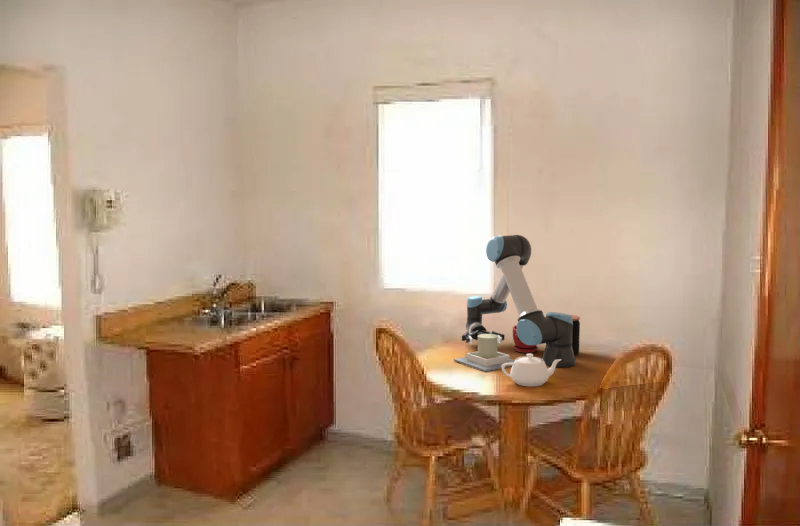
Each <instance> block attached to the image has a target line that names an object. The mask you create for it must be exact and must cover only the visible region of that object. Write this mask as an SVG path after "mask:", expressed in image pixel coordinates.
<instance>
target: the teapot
mask: <svg viewBox="0 0 800 526" xmlns="http://www.w3.org/2000/svg"><path fill="white" fill-rule="evenodd" d="M525 355H526V356H519V357H516V358H515V359H514V360H515V361H514V362H513V363H504V364H502V366H501V368H502V369H501V371H502V373H504V374H505V376H507V377H509V378H510V379H511V380H513V382H515V384H517V385H519V386H522V387H540V386H543V385H544V384H545V383H546V382H548V380H549V377H552V375H553V374H554V373H555V371H556V368H557V367H556V365H557V363H558V362H559V361H561V360H562V359H557V360H555V361H554V362H553V364H552V366H549V368H548V367H547V366H548V365H546V364H545V362H544V360H543V359H542V357H541V358H540V357H536V356H534V354H533V353H525ZM506 365H513V366H512V367H510V368H511V369H510V373H508V372H507V370H506V368H504V367H505V366H506Z"/></svg>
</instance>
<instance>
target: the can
mask: <svg viewBox="0 0 800 526" xmlns="http://www.w3.org/2000/svg"><path fill="white" fill-rule="evenodd" d="M497 337H498V336H497V335H494V334H480V335H478V341H477V351H478V356H479V357H482V358H485V359H489V358H494V357H497V352H498V341H497Z"/></svg>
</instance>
